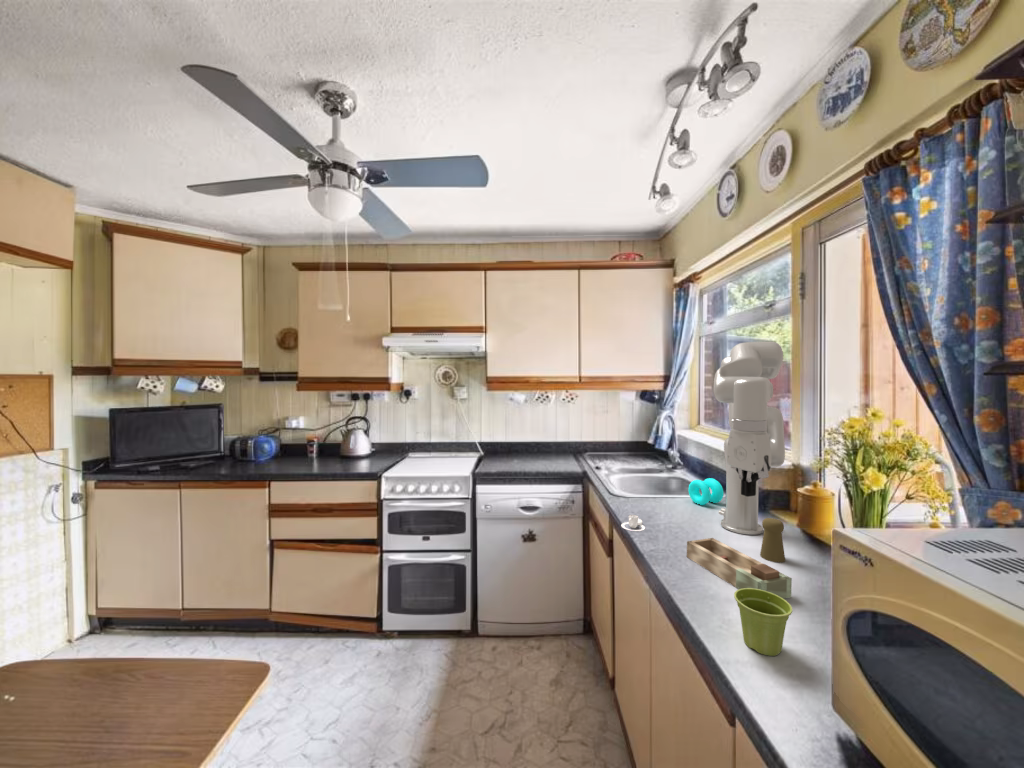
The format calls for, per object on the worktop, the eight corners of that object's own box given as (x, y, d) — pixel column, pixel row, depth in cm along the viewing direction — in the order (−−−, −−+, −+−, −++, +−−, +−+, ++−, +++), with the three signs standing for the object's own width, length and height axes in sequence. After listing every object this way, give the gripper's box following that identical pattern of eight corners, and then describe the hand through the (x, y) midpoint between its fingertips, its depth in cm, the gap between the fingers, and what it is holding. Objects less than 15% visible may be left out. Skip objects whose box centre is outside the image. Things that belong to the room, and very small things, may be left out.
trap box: (686, 556, 113) (687, 541, 112) (712, 553, 115) (712, 537, 115) (761, 603, 90) (761, 583, 89) (791, 597, 92) (791, 578, 92)
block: (750, 582, 95) (751, 565, 95) (763, 579, 96) (763, 563, 96) (765, 590, 91) (765, 573, 91) (778, 588, 92) (779, 571, 92)
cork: (761, 551, 117) (762, 514, 117) (786, 556, 113) (786, 518, 113) (758, 558, 112) (759, 519, 112) (784, 564, 108) (784, 525, 108)
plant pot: (744, 659, 72) (745, 612, 72) (726, 627, 81) (727, 585, 81) (802, 666, 70) (803, 618, 70) (776, 632, 79) (777, 590, 79)
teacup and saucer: (636, 522, 141) (636, 510, 141) (652, 530, 133) (652, 518, 133) (616, 525, 137) (616, 513, 137) (631, 533, 130) (631, 521, 130)
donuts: (725, 505, 158) (725, 481, 158) (706, 508, 154) (706, 483, 154) (704, 498, 167) (704, 475, 167) (686, 501, 164) (686, 477, 163)
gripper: (715, 422, 108) (714, 488, 109) (763, 431, 94) (762, 506, 95) (737, 421, 110) (736, 485, 111) (787, 429, 96) (786, 503, 97)
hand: (748, 495), depth 103 cm, fingers closed
